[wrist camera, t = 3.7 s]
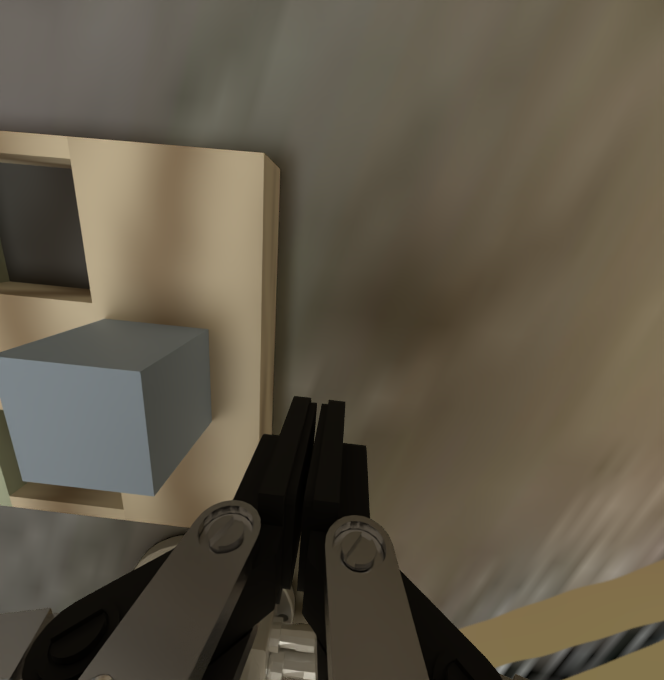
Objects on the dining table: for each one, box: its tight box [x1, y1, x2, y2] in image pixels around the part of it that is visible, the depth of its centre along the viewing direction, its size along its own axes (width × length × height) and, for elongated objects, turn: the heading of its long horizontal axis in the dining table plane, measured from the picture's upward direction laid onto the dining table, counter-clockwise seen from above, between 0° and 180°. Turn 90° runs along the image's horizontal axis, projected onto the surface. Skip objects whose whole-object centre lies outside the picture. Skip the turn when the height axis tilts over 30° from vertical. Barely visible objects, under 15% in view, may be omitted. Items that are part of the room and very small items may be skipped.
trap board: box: [0, 131, 280, 528], centre depth 16 cm, size 22×20×6 cm
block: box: [0, 319, 212, 496], centre depth 13 cm, size 5×5×5 cm
